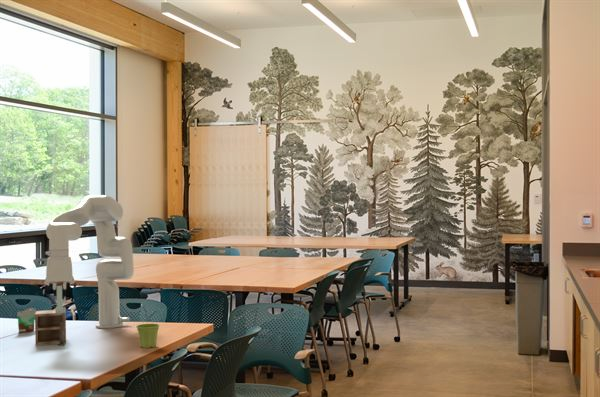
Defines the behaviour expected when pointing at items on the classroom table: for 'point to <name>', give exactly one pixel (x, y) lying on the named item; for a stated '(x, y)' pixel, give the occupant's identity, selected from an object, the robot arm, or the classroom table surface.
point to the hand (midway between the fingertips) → (59, 298)
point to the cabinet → (50, 328)
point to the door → (60, 301)
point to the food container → (26, 320)
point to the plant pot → (148, 334)
